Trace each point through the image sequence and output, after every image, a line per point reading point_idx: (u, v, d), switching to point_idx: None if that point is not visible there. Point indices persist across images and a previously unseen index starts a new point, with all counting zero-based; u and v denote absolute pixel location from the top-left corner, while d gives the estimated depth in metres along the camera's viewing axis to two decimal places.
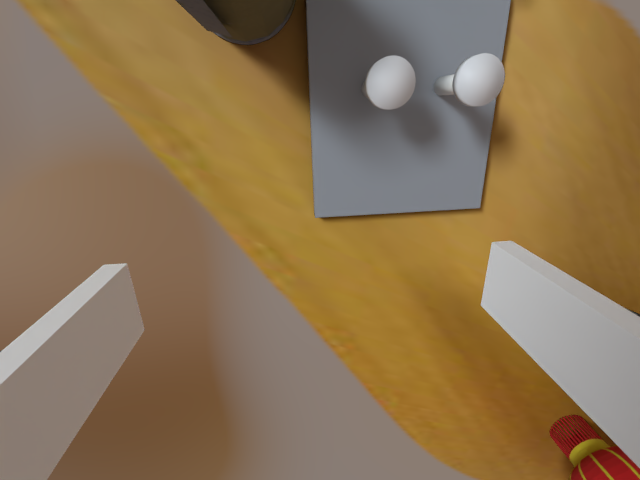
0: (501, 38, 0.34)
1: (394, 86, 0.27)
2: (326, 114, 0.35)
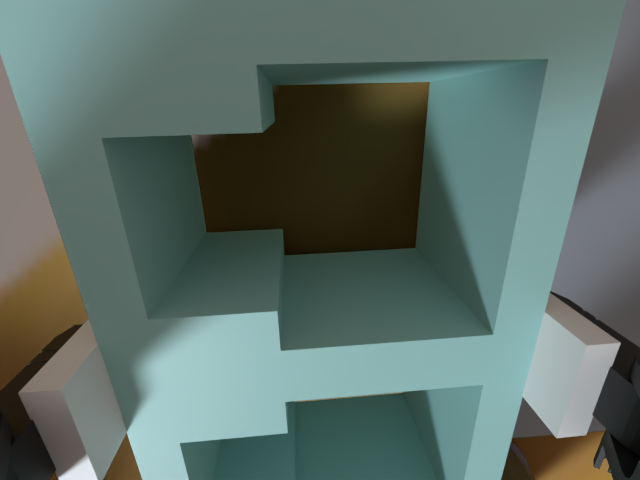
0: None
1: None
2: None
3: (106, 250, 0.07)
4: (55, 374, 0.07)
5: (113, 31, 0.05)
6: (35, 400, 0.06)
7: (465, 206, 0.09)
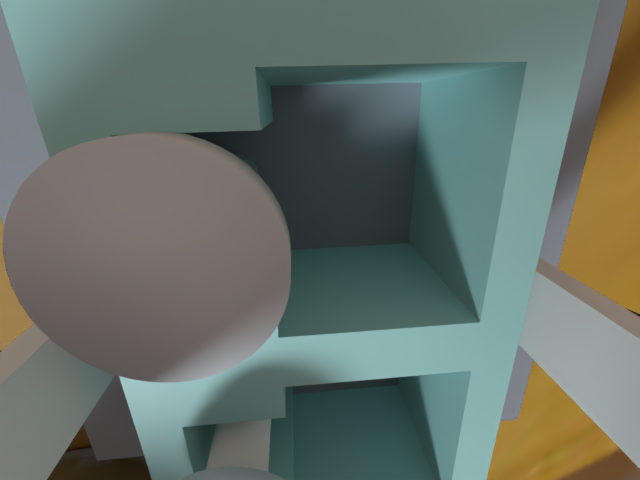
0: None
1: None
2: None
3: None
4: None
5: (122, 36, 0.06)
6: None
7: (455, 201, 0.10)
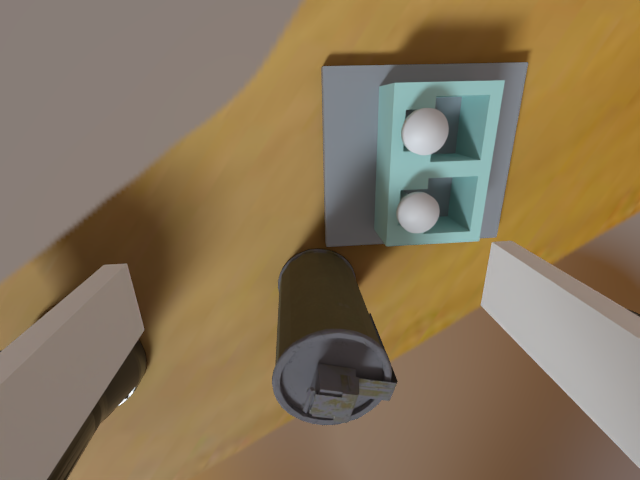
0: (362, 70, 0.34)
1: (422, 211, 0.32)
2: None
3: (399, 133, 0.32)
4: None
5: (413, 90, 0.30)
6: None
7: (473, 130, 0.34)
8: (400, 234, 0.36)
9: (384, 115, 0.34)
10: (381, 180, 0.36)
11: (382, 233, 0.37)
